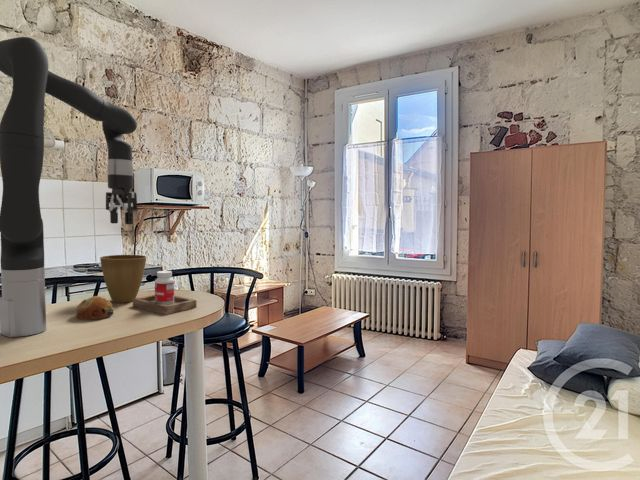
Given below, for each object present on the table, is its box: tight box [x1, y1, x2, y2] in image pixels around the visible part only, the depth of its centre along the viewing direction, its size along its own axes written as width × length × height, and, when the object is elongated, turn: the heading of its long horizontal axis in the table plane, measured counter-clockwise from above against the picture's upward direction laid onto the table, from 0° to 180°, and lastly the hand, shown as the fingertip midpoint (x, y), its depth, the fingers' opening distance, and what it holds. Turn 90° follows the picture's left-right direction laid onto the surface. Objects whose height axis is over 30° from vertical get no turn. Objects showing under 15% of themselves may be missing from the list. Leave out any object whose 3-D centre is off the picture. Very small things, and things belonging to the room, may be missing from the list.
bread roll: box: [75, 295, 115, 321], centre depth 124 cm, size 10×10×8 cm
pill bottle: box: [154, 270, 175, 305], centre depth 136 cm, size 6×6×11 cm
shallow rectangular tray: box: [132, 294, 197, 316], centre depth 137 cm, size 12×18×2 cm, turn 57°
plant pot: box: [99, 254, 147, 304], centre depth 144 cm, size 15×15×16 cm
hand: (121, 223), depth 132 cm, fingers open, 8 cm apart
